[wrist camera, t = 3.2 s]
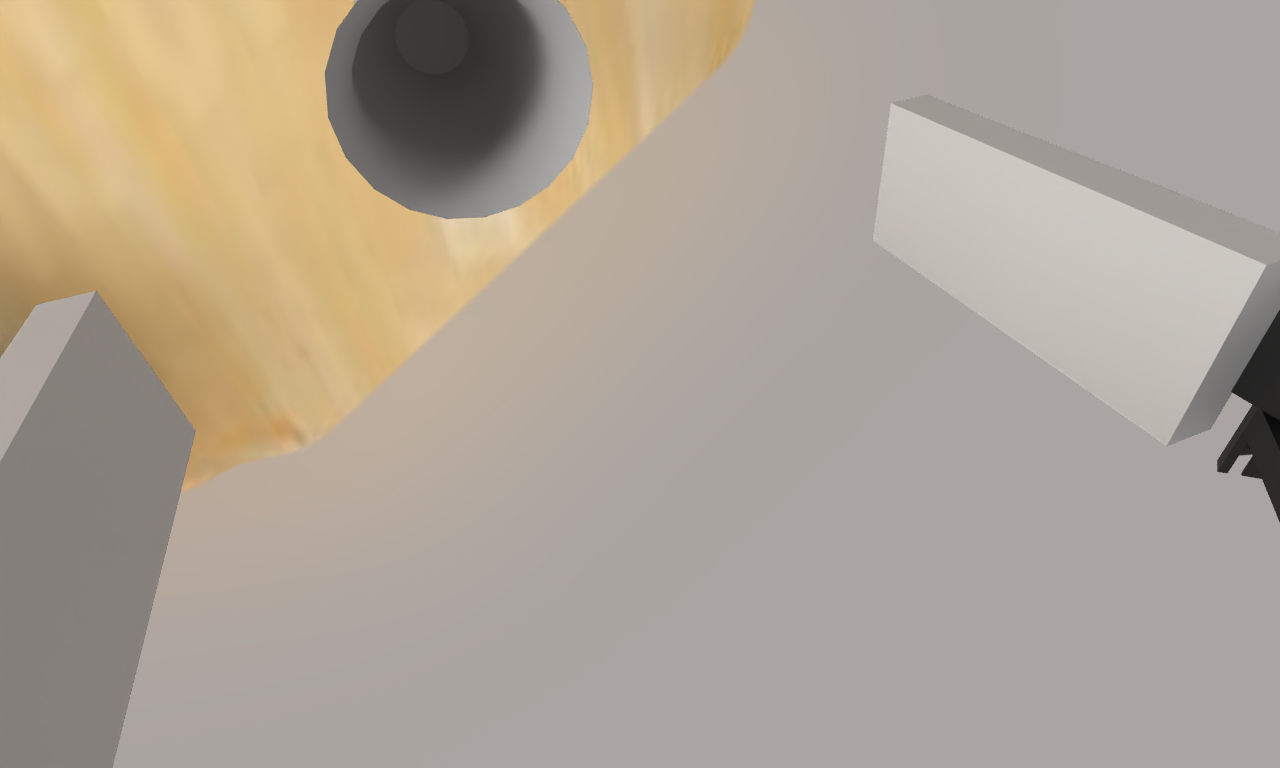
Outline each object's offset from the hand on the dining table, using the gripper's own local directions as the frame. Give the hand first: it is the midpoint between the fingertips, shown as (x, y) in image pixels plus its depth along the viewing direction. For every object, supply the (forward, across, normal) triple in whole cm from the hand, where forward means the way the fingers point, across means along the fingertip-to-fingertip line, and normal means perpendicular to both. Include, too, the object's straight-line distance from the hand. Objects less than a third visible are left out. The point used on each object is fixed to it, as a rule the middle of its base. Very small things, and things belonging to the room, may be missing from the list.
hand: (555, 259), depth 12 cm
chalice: (+28, 0, 0) cm, 28 cm away
